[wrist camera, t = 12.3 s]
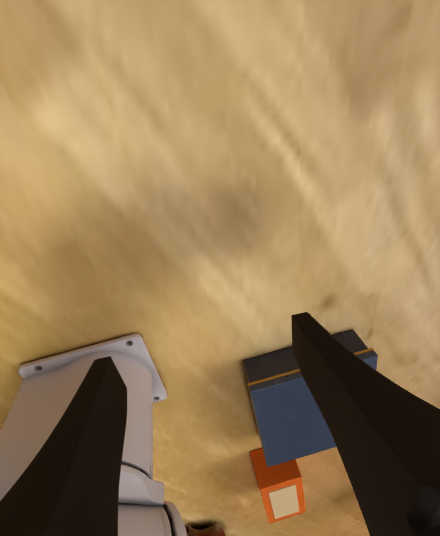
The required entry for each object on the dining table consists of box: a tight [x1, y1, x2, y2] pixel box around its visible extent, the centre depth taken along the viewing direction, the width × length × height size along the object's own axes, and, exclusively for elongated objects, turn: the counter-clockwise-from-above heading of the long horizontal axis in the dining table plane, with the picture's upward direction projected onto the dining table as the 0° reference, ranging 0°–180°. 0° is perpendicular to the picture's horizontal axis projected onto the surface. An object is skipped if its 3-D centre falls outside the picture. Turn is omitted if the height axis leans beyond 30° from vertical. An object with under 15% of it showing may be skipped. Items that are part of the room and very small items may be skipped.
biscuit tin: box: [243, 330, 378, 467], centre depth 31 cm, size 11×12×4 cm
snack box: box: [250, 448, 306, 524], centre depth 37 cm, size 9×5×4 cm, turn 11°
